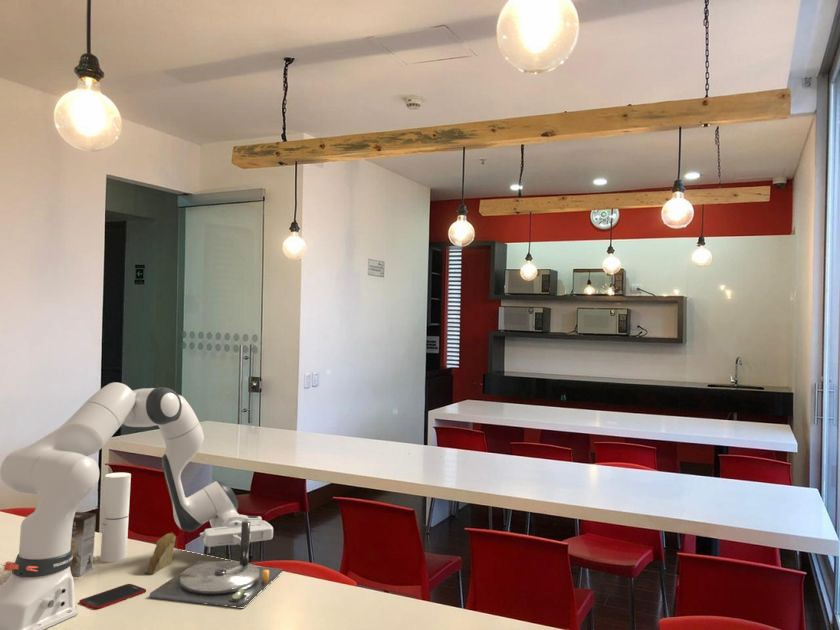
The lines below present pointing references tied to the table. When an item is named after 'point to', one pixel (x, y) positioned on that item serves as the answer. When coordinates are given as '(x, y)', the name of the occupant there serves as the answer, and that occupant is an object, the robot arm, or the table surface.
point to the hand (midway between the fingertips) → (245, 542)
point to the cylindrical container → (115, 517)
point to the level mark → (265, 576)
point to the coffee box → (82, 543)
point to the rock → (162, 553)
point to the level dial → (223, 572)
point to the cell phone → (112, 596)
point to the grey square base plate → (238, 598)
